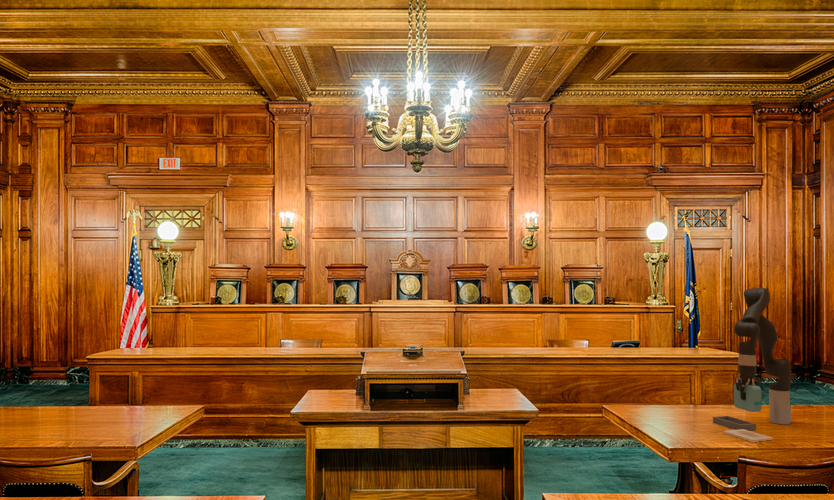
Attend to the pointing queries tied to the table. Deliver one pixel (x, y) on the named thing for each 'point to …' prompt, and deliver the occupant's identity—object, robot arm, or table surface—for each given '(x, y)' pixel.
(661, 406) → the table surface
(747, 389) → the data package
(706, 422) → the table surface
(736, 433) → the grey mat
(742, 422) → the holder box
